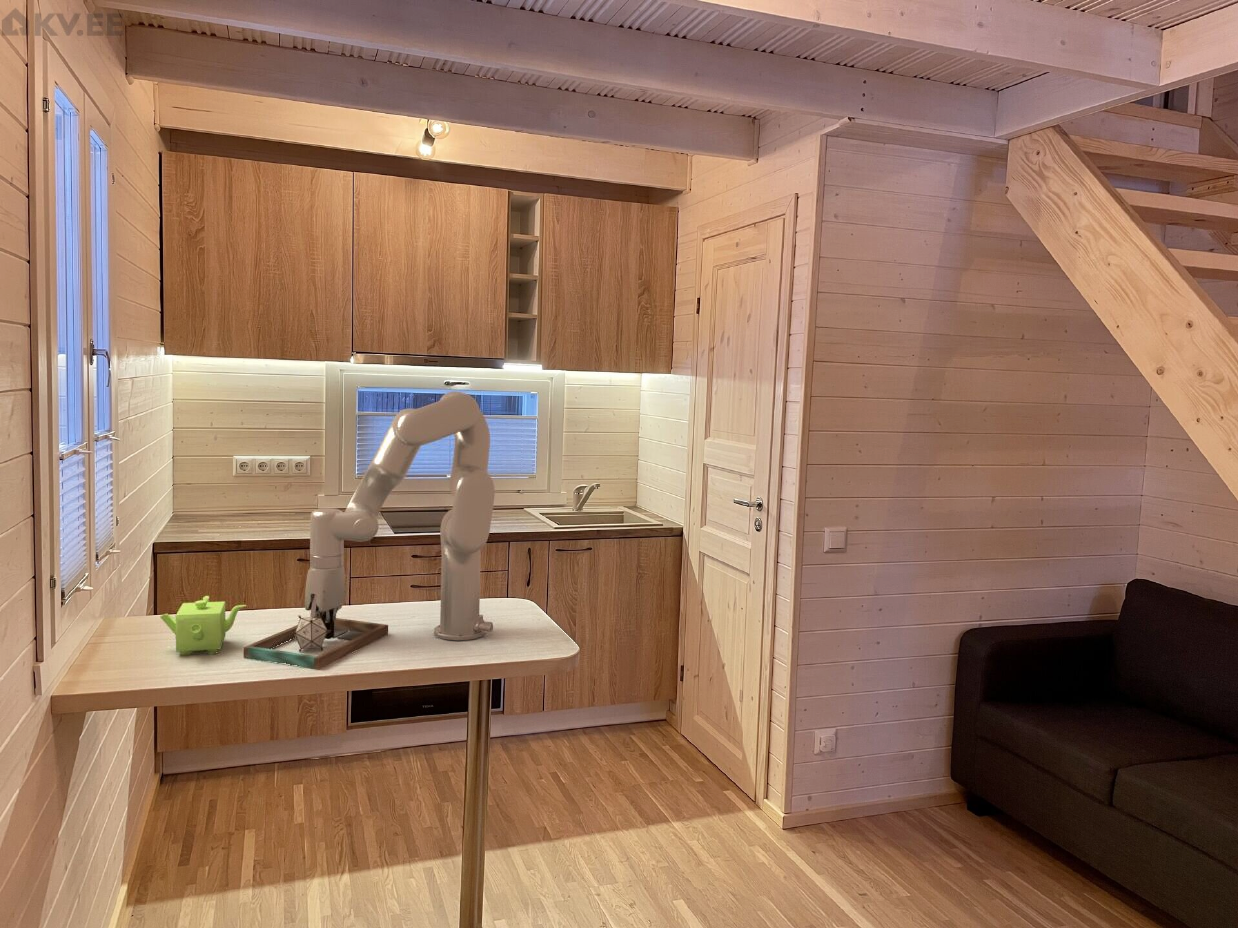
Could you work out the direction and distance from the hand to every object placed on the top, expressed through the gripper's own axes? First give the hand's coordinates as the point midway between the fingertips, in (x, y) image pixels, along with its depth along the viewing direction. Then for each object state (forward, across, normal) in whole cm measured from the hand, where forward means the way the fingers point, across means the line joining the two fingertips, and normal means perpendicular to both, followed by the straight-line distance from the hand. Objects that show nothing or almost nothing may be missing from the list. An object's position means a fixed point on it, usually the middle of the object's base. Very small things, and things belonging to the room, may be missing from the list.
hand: (326, 637), depth 215 cm
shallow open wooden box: (+1, +3, 0) cm, 3 cm away
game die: (+1, +6, 0) cm, 6 cm away
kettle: (+2, +15, -22) cm, 26 cm away
